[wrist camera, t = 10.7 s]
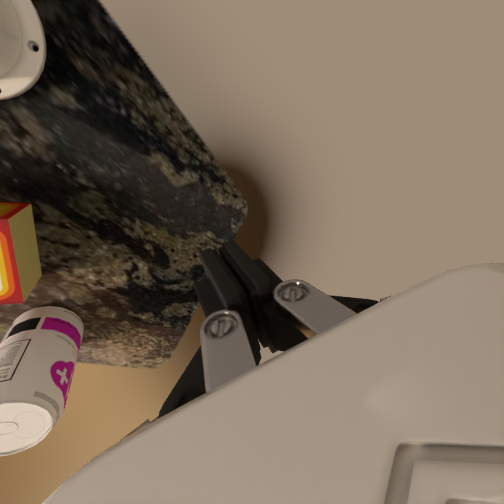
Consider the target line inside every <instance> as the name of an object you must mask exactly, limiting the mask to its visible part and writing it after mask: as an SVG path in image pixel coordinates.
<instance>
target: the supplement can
mask: <svg viewBox="0 0 504 504" xmlns="http://www.w3.org/2000/svg"><path fill="white" fill-rule="evenodd" d="M83 331H84V325H83V323H82V321H81V319H80V317H78V316H77V315H76V314H75V313H74V312H72V311H70V310H67V309H65V308H62V307H53V306H46V307H38V308H34V309H32V310H29V311H26V312H24V313H23V314H22V315H20V316H19V317H18V318H17V319H15V321H14V322H13V324H12V326H11V327H10V329H9V330H8V332H7V333H6V335H5V337H4V338H3V340H2V341H1V343H0V456H5V455H11V454H14V453H17V452H21V451H24V450H26V449H28V448H30V447H32V446H34V445H36V444H38V443H39V442H40V441H41V440H42V439H44V438H45V437H46V436H47V435H48V433H49V432H50V430H51V429H52V427H54V426H55V424H56V423H57V422H58V421H59V419H60V417H61V415H62V414H63V412H64V408H65V404H66V400H67V396H68V392H69V388H70V384H71V380H72V376H73V372H74V369H75V365H76V361H77V357H78V353H79V349H80V345H81V341H82V337H83Z"/></svg>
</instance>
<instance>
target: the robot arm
mask: <svg viewBox="0 0 504 504" xmlns="http://www.w3.org/2000/svg"><path fill="white" fill-rule="evenodd" d="M34 46H37V47H38V49H39V50H38V51H34V50H33V47H34ZM45 60H46V40H45V35H44V30H43V26H42V23H41V21H40V18H39V15H38V13H37V10H36V8H35V6H34V5H33V3H32V1H31V0H0V89H1V93H0V100H6V99H10V98H13V97H16V96H19V95H21V94H23V93H24V92H26V91H27V90H29V89H30V88H31V87H32V86H33V85H34V84H35V83H36V82H37V81H38V79H39V77H40V75H41V73H42V71H43V69H44V65H45ZM219 253H220V255H219V254H218V252H217V251H216V249H214V250H211V249H210V248H208V249H206V250H203V251H200V252H199V256H200V259H201V261H202V264H203V267H204V270H205V273H206V276H207V279H204V280H202V281H199V282H197V283H194V284H193V286H194V288H195V291H196V293H197V296H198V298H199V301H200V304H201V306H202V309H203V311H204V314H205V316H206V318H205V319H204V320H203V322H202V324H201V326H200V339H201V346H200V347H199V349H198V351H197V352H196V354H195V355H194V357H193V359H192V360H191V362H190V363H189V365H188V366H187V368H186V370H185V371H184V373H183V374H182V376H181V377H180V379H179V380H178V382H177V384H176V385H175V387H174V388H173V390H172V391H171V393H170V394H169V396H168V398H167V399H166V401H165V402H164V404H163V406H162V408H161V410H160V412H159V416H158V417H156V418H155V419H154V420H153V421H151V422H150V421H149V419H148V420H146V421H145V422H144V423H142V424H141V425H140V426H139V427H137V428H136V429H134V430H133V431H132V432H130V433H129V434H128V435H126V436H125V437H124V438H123V439H121V440H120V441H119V442H117V443H116V444H114V445H113V446H111V447H110V448H108V449H107V450H105V451H104V452H102V453H101V454H99V455H98V456H96V457H95V458H93V459H92V460H91V461H90V462H89V463H87V464H86V465H85V466H83V467H82V468H81V469H79V470H78V471H77V472H76V473H74V474H73V475H72V476H70V478H68V479H67V480H66V481H65V482H64V483H63V484H62V485H61V486H60V487H59V488H58V489H56V490H55V491H54V492H53V493H52V494H51V495H50V496H49V497H48V498H46V500H44V501H43V502H42V504H504V264H503V263H486V264H477V265H470V266H464V267H460V268H456V269H452V270H449V271H446V272H443V273H441V274H438V275H435V276H433V277H431V278H429V279H427V280H424V281H422V282H420V283H418V284H416V285H413V286H411V287H409V288H407V289H405V290H403V291H402V292H399V293H397V294H395V295H393V296H389V297H386V298H382V299H380V302H378V301H375V300H369V299H361V298H351V297H340V296H329V295H327V294H325V293H323V292H322V291H320V290H319V289H317V288H315V287H314V286H312V285H310V284H309V283H307V282H305V281H303V280H298V279H294V280H287V281H284V282H283V281H282V280H281V279H280V278H279V277H278V276H277V275H276V274H275V273H274V272H273V271H272V270H271V269H270V268H269V267H268V266H267V265H266V264H265V263H264V262H263V261H262V260H261V259H259V258H257V259H254V260H252V259H251V258H250V257H249V256H248V255H247V254H246V253H245V252H244V251H243V250H242V249H241V248H240V247H239V246H238V244H237V243H236V242H235V241H234V240H230V241H227V242H225V243H222V247H220V248H219ZM258 339H259V341H260V343H261V344H262V346H263V347H264V348H265V347H267V346H268V347H269V349H270V350H271V352H272V353H274V352H276V351H278V350H280V351H285V352H283V353H281V354H279V355H277V356H275V357H273V358H271V359H269V360H267V361H265V362H264V363H262V364H260V365H259V362H260V360H261V355H260V345H259V341H258Z"/></svg>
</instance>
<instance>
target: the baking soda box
mask: <svg viewBox="0 0 504 504" xmlns="http://www.w3.org/2000/svg"><path fill="white" fill-rule="evenodd" d="M41 276H42V272H41V266H40V259H39V253H38V246H37V239H36V233H35V226H34V220H33V213H32V206H31V204H30V203H14V202H0V305H1V304H16V303H24V302H25V301H26V299H27V297H28V296H29V294H30V293H31V291H32V290H33V288H34V287H35V285H36V283H37V282H38V280H39V279H40V277H41Z"/></svg>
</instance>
